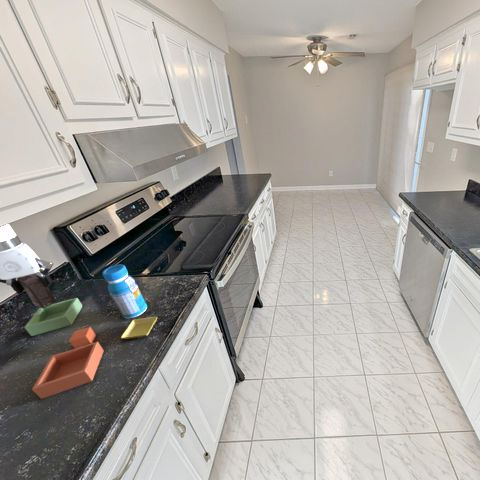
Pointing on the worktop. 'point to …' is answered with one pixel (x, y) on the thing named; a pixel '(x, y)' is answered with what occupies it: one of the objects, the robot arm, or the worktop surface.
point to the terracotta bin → (69, 370)
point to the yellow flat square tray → (139, 328)
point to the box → (37, 290)
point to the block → (82, 337)
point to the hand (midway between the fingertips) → (35, 288)
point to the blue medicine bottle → (124, 291)
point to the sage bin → (54, 317)
